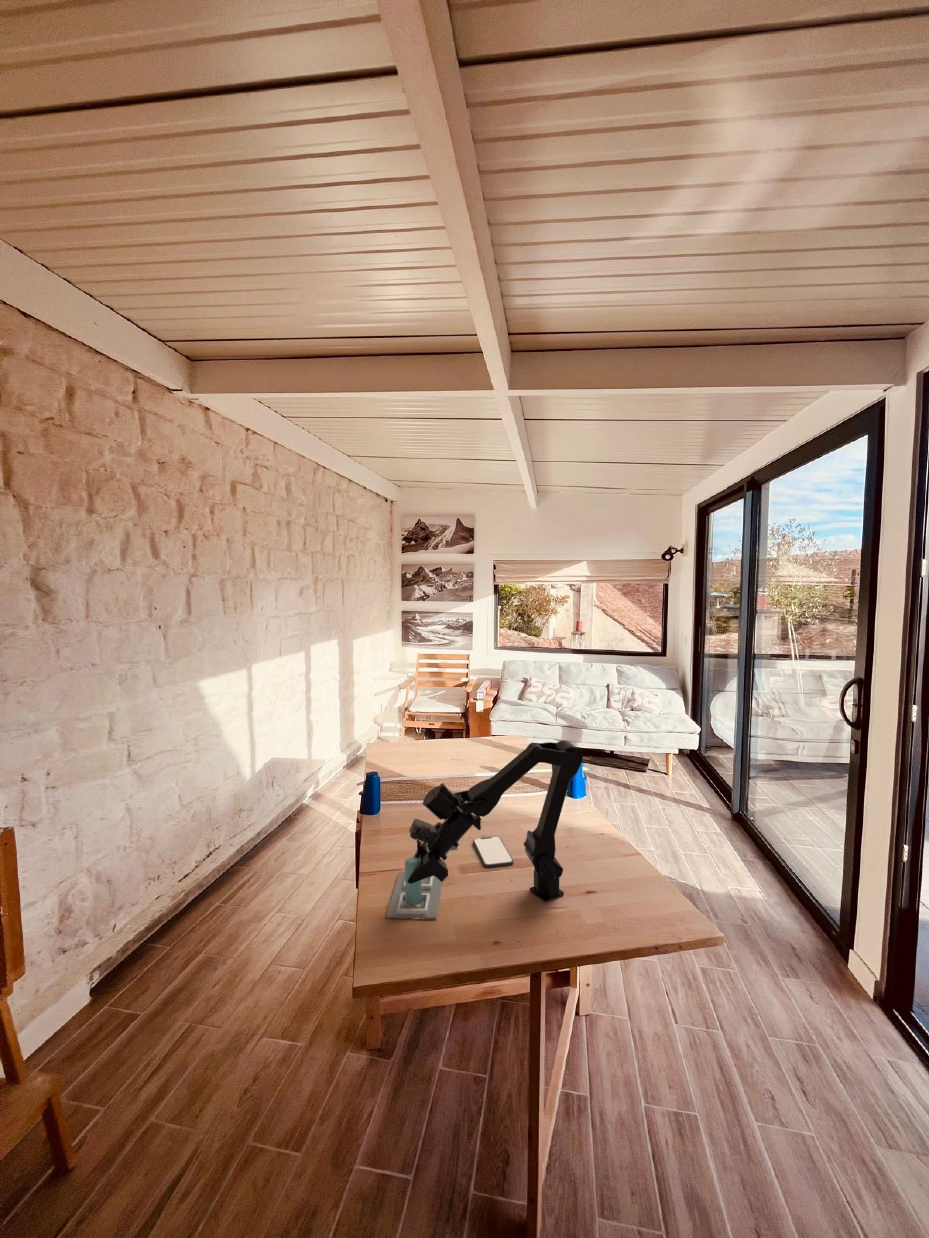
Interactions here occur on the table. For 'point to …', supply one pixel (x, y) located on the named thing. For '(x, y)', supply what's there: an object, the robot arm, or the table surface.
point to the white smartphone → (492, 852)
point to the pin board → (422, 910)
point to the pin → (415, 889)
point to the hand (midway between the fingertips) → (407, 877)
